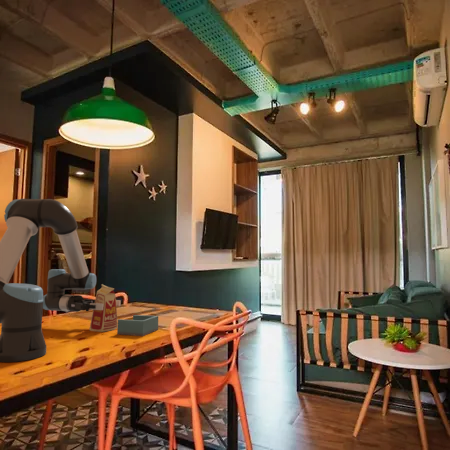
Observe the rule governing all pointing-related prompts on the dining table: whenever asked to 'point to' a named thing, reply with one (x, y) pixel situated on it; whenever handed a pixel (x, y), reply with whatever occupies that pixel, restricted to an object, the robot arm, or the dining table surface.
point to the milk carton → (105, 311)
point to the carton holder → (138, 325)
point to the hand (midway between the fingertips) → (111, 305)
